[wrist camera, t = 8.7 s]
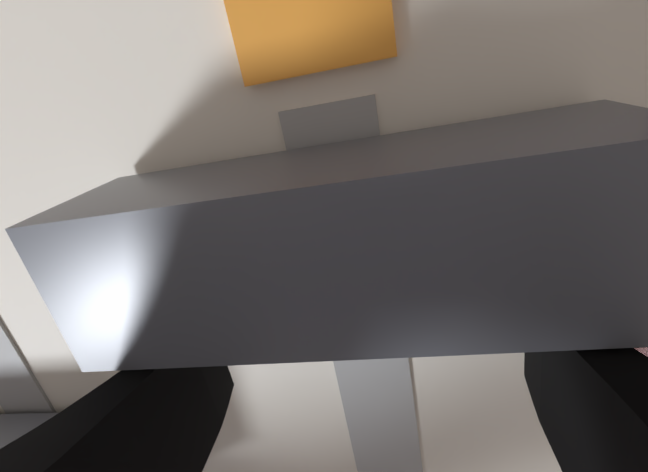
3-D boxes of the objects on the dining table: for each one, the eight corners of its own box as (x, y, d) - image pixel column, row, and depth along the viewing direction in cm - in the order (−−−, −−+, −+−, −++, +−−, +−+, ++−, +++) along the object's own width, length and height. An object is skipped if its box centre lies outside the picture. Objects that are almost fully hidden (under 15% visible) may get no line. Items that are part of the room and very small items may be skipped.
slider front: (591, 249, 8) (692, 345, 5) (162, 288, 10) (82, 372, 8) (604, 99, 7) (740, 126, 4) (118, 177, 9) (5, 229, 6)
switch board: (581, 514, 13) (600, 558, 12) (5, 495, 18) (-21, 525, 17) (658, -195, 6) (719, -252, 5) (-304, 84, 11) (-384, 87, 10)
